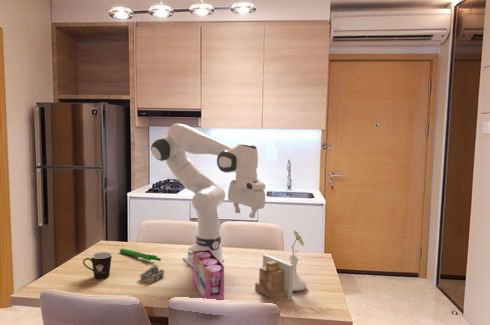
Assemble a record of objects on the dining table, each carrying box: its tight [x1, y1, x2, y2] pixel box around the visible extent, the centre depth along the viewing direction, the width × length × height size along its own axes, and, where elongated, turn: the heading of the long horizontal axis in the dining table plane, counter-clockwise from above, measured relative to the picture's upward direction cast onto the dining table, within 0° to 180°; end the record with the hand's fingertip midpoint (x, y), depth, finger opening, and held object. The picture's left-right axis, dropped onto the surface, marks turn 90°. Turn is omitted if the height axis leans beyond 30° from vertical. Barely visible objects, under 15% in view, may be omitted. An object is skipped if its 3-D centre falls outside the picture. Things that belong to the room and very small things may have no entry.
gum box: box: [192, 250, 225, 301], centre depth 157 cm, size 24×8×14 cm, turn 21°
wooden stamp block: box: [258, 261, 284, 293], centre depth 153 cm, size 8×6×11 cm
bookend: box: [254, 253, 293, 303], centre depth 156 cm, size 16×7×14 cm, turn 40°
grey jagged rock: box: [139, 265, 165, 284], centre depth 169 cm, size 11×8×4 cm
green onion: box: [119, 248, 162, 262], centre depth 194 cm, size 5×3×30 cm
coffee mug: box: [82, 251, 112, 280], centre depth 169 cm, size 12×9×10 cm
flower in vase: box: [287, 229, 307, 292], centre depth 162 cm, size 13×11×25 cm
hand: (244, 215), depth 156 cm, fingers open, 8 cm apart
